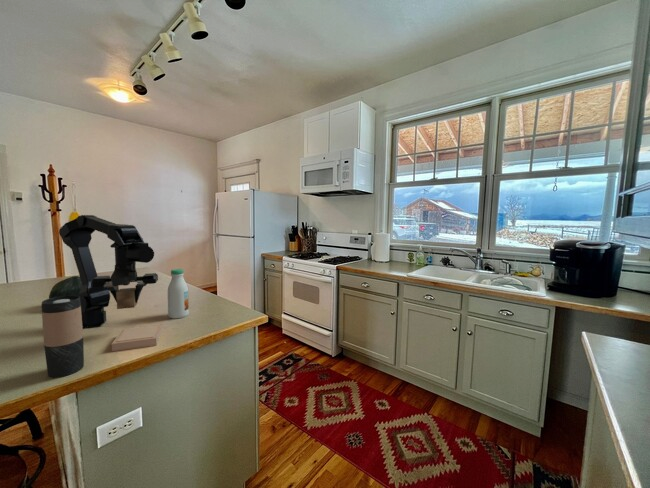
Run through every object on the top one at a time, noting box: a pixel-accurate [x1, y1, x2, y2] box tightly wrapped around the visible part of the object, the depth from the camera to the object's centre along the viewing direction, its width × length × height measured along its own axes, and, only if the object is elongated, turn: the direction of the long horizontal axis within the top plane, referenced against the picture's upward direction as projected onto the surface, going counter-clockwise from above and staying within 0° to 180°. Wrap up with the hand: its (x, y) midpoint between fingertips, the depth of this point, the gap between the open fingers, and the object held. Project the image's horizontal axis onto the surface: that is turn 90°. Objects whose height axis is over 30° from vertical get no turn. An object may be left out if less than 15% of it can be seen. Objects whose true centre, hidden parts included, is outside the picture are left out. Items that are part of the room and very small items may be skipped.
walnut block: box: [116, 287, 139, 310], centre depth 97 cm, size 5×5×6 cm
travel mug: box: [41, 296, 85, 379], centre depth 73 cm, size 8×8×20 cm
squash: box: [48, 275, 82, 299], centre depth 122 cm, size 14×15×15 cm
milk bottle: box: [167, 268, 190, 319], centre depth 114 cm, size 8×8×20 cm
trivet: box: [111, 324, 163, 352], centre depth 92 cm, size 12×12×3 cm
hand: (127, 303), depth 97 cm, fingers closed on walnut block, 5 cm apart
